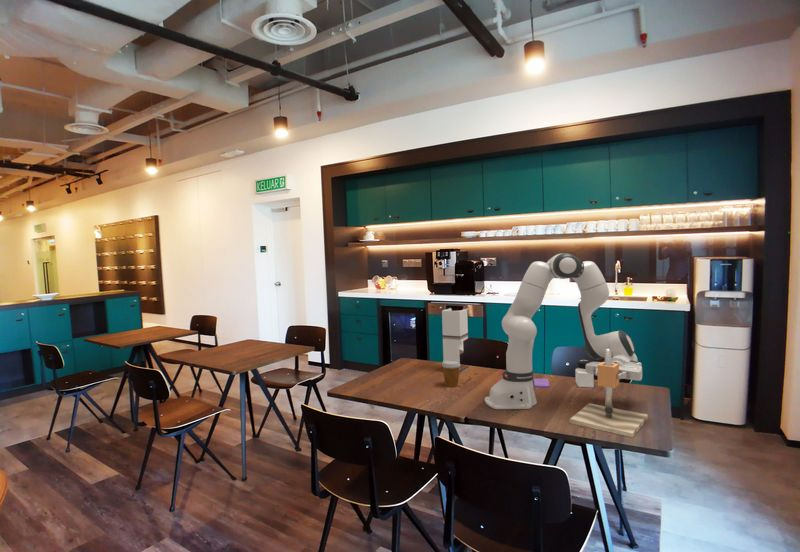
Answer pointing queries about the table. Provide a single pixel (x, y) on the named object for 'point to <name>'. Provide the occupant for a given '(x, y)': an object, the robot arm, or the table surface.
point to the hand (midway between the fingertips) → (607, 375)
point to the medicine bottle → (583, 375)
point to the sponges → (541, 383)
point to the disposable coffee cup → (451, 372)
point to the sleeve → (608, 375)
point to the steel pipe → (608, 390)
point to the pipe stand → (610, 420)
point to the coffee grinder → (454, 334)
